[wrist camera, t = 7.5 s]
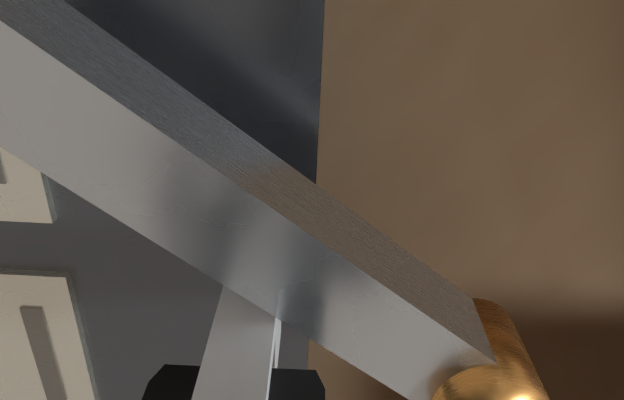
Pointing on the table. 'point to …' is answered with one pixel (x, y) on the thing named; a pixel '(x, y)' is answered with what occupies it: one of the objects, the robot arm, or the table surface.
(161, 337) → the server tray
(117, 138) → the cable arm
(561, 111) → the table surface
